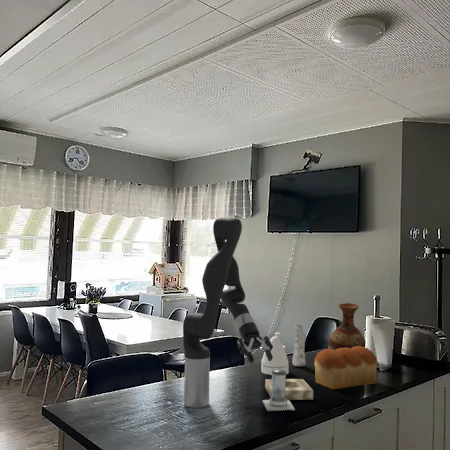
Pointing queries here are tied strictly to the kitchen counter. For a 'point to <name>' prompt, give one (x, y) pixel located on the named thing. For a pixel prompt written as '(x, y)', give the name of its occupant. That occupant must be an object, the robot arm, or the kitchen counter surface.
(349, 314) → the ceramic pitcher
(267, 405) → the grey rubber pad
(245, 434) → the kitchen counter surface
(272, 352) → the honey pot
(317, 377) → the bread
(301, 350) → the plastic bottle
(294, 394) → the frame
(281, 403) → the steel plug
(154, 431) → the kitchen counter surface
